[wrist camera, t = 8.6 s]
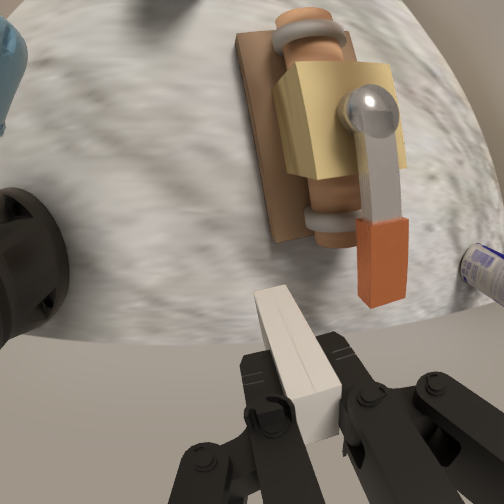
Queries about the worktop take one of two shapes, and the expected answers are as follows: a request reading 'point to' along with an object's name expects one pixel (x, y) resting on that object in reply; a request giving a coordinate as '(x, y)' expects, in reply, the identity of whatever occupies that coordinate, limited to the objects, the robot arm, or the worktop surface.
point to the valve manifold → (307, 124)
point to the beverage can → (484, 271)
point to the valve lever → (377, 194)
